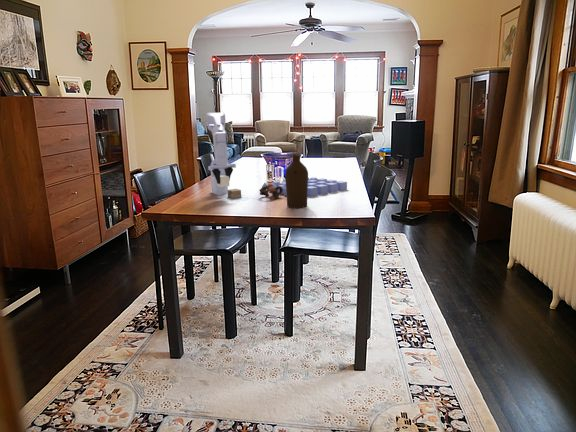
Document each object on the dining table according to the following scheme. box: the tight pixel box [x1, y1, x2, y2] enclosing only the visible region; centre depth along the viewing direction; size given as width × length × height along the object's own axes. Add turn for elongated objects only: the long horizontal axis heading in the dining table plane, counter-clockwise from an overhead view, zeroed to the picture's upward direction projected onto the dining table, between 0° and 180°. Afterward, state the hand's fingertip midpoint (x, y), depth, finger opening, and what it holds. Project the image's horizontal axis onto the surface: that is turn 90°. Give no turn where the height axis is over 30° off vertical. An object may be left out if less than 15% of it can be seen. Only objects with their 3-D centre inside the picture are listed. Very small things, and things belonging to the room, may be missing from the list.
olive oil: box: [284, 152, 309, 209], centre depth 207 cm, size 11×11×25 cm
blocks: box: [261, 176, 348, 198], centre depth 249 cm, size 35×34×5 cm
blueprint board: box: [216, 194, 254, 203], centre depth 231 cm, size 18×12×1 cm, turn 37°
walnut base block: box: [227, 188, 242, 199], centre depth 231 cm, size 5×5×4 cm
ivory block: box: [217, 175, 230, 187], centre depth 227 cm, size 4×4×5 cm
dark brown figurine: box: [259, 184, 283, 201], centre depth 229 cm, size 12×10×8 cm
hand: (223, 183), depth 228 cm, fingers closed on ivory block, 4 cm apart
